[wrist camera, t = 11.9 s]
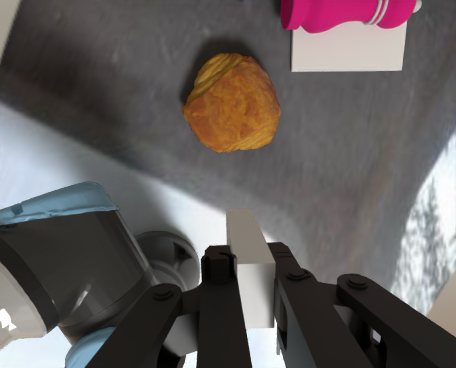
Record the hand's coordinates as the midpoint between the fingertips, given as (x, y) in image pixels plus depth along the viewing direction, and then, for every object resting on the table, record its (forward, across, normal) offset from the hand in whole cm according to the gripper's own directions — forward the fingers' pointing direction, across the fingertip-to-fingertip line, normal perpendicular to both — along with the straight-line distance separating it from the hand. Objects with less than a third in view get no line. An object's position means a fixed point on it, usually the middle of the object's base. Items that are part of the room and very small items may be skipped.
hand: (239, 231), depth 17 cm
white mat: (+32, +20, +22) cm, 44 cm away
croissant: (+33, +2, +8) cm, 34 cm away
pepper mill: (+28, +9, +22) cm, 37 cm away
